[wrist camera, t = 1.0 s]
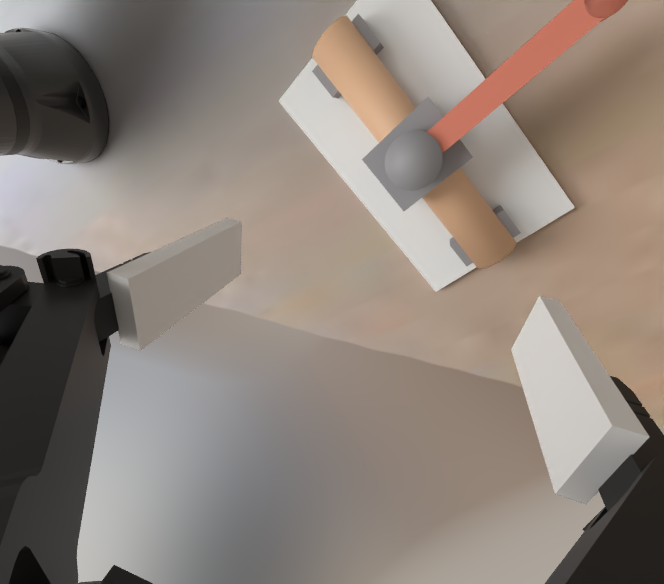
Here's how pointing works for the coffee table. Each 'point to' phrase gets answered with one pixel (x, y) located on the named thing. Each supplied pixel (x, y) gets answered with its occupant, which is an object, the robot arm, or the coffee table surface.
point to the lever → (491, 94)
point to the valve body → (422, 114)
